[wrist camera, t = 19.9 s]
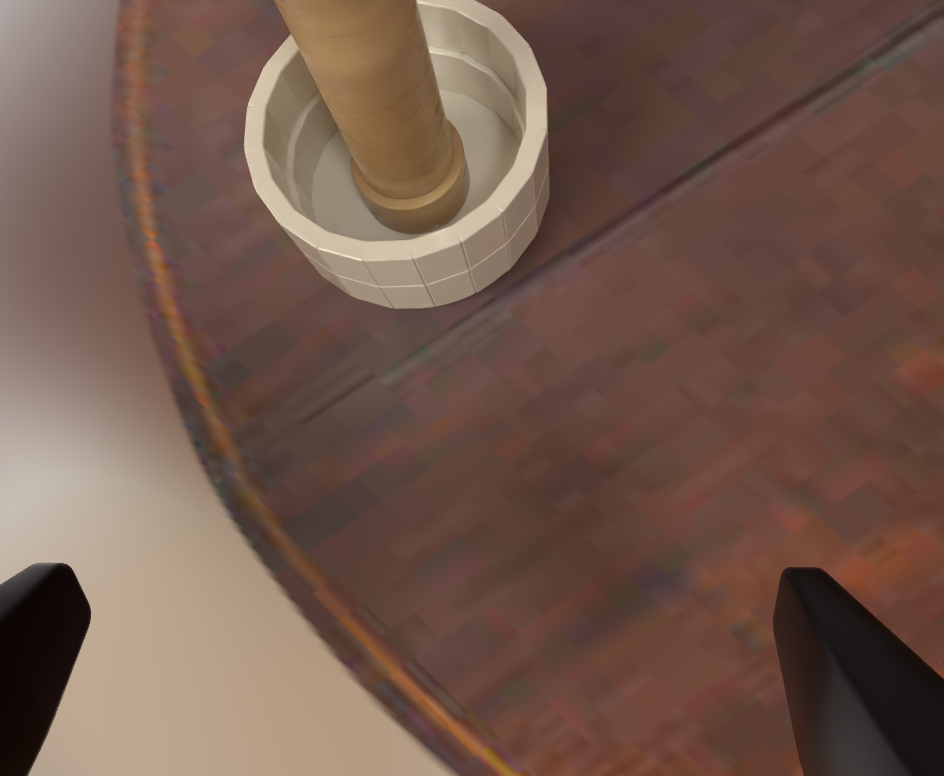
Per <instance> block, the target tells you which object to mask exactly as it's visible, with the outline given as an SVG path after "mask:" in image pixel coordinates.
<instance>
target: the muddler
mask: <svg viewBox="0 0 944 776" xmlns="http://www.w3.org/2000/svg"><path fill="white" fill-rule="evenodd" d="M274 1H275V3H276V5H277V7H278V9H279V11H280V13H281V15H282V17H283V19H284V21H285V23H286V25H287V27H288V29H289V31H290V33H291V35H292V37H293V39H294V41H295V43H296V45H297V47H298V49H299V51H300V53H301V55H302V57H303V59H304V61H305V63H306V65H307V67H308V69H309V70H310V72H311V74H312V76H313V78H314V80H315V82H316V84H317V86H318V88H319V90H320V92H321V94H322V96H323V98H324V100H325V102H326V104H327V106H328V108H329V110H330V112H331V114H332V116H333V118H334V120H335V122H336V124H337V126H338V128H339V130H340V132H341V134H342V136H343V138H344V140H345V142H346V144H347V146H348V148H349V150H350V152H351V154H352V155H351V172H352V176H353V179H354V181H355V184H356V186H357V187H358V189H359V191H360V193H361V195H362V197H363V199H364V201H365V203H366V205H367V206H368V208H369V210H370V212H371V213H372V215H373V216H374V217H375V218H376V219H377V220H378V221H379V222H380V223H381V224H382V225H384V226H385V227H387V228H389V229H391V230H393V231H396V232H400V233H405V234H421V233H427V232H430V231H433V230H436V229H438V228H440V227H442V226H444V225H445V224H447V223H448V222H449V221H451V220H452V219H453V218H454V217H455V216H456V215H457V214H458V212H459V211H460V210H461V208H462V207H463V205H464V204H465V201H466V199H467V196H468V193H469V188H470V174H469V169H468V165H467V160H466V156H465V152H464V147H463V143H462V140H461V137H460V135H459V133H458V131H457V130H456V128H455V126H454V125H453V124H452V123H451V122H450V121H449V120H448V119H447V118H446V115H445V111H444V107H443V103H442V99H441V95H440V91H439V87H438V83H437V80H436V76H435V72H434V68H433V64H432V60H431V56H430V52H429V48H428V44H427V40H426V36H425V32H424V28H423V24H422V20H421V16H420V12H419V8H418V4H417V0H274Z"/></svg>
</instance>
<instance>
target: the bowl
mask: <svg viewBox="0 0 944 776" xmlns="http://www.w3.org/2000/svg"><path fill="white" fill-rule="evenodd" d="M417 4H418V8H419V12H420V16H421V20H422V24H423V28H424V32H425V36H426V40H427V44H428V48H429V52H430V56H431V60H432V64H433V68H434V72H435V76H436V80H437V83H438V87H439V91H440V95H441V99H442V103H443V107H444V111H445V115H446V118H447V119H448V120H449V121H450V122H451V123H452V124H453V125H454V126H455V128H456V130H457V131H458V133H459V135H460V137H461V140H462V143H463V147H464V152H465V156H466V160H467V165H468V169H469V174H470V188H469V193H468V196H467V199H466V201H465V204H464V205H463V207H462V208H461V210H460V211H459V212H458V214H457V215H456V216H455V217H454V218H453V219H452V220H451V221H449V222H448V223H447V224H445V225H444V226H442V227H440V228H438V229H436V230H433V231H430V232H427V233H421V234H405V233H400V232H396V231H393V230H391V229H389V228H387V227H385V226H384V225H382V224H381V223H380V222H379V221H378V220H377V219H376V218H375V217H374V216H373V215H372V213H371V212H370V210H369V208H368V206H367V205H366V203H365V201H364V199H363V197H362V195H361V193H360V191H359V189H358V187H357V186H356V184H355V181H354V179H353V176H352V172H351V155H352V154H351V152H350V150H349V148H348V146H347V144H346V142H345V140H344V138H343V136H342V134H341V132H340V130H339V128H338V126H337V124H336V122H335V120H334V118H333V116H332V114H331V112H330V110H329V108H328V106H327V104H326V102H325V100H324V98H323V96H322V94H321V92H320V90H319V88H318V86H317V84H316V82H315V80H314V78H313V76H312V74H311V72H310V70H309V69H308V67H307V65H306V63H305V61H304V59H303V57H302V55H301V53H300V51H299V49H298V47H297V45H296V43H295V41H294V39H293V37H292V35H291V34H290V36H289V37H288V38H287V39H286V40H285V42H284V43H283V44H282V45H281V46H280V48H279V49H278V50H277V51H276V52H275V54H274V55H273V56H272V57H271V58H270V60H269V61H268V62H267V63H266V66H264V68H263V70H262V72H261V75H260V77H259V79H258V82H257V84H256V86H255V89H254V91H253V93H252V96H251V98H250V100H249V103H248V107H247V117H246V128H245V140H244V148H245V149H244V151H245V155H246V159H247V162H248V166H249V170H250V174H251V177H252V181H253V185H254V188H255V190H256V192H257V193H258V195H259V196H260V198H261V199H262V200H263V202H264V203H265V205H266V206H267V207H268V209H269V210H270V211H271V213H272V214H273V216H274V217H275V218H276V220H277V221H278V223H279V224H280V225H281V226H282V228H283V229H284V230H285V231H286V233H287V234H288V235H289V236H290V238H291V239H292V240H293V241H294V242H295V244H296V245H297V246H298V247H299V249H300V250H301V251H302V252H303V254H304V255H305V256H306V257H307V259H308V260H309V261H310V262H311V264H312V265H313V266H314V267H315V268H316V270H317V271H318V272H319V273H320V274H321V275H322V276H323V277H324V278H326V279H327V280H329V281H330V282H331V283H333V284H334V285H336V286H337V287H339V288H340V289H342V290H343V291H345V292H346V293H347V294H349V295H350V296H354V298H357V299H360V300H364V301H368V302H371V303H375V304H378V305H382V306H385V307H389V308H395V309H397V308H428V307H436V306H441V305H445V304H449V303H453V302H456V301H458V300H461V299H464V298H466V297H469V296H471V295H473V294H475V293H476V292H477V293H478V292H479V291H481V290H482V289H484V288H485V287H487V286H488V285H490V284H491V283H493V282H494V281H495V280H497V279H498V278H499V277H500V276H501V275H503V274H504V273H506V272H507V271H508V270H510V269H511V267H512V266H514V264H515V263H516V262H517V260H518V259H519V258H520V256H521V255H522V254H523V252H524V251H525V249H526V248H527V247H528V245H529V244H530V243H531V241H532V240H533V239H534V237H535V236H536V233H537V232H538V230H539V227H540V224H541V221H542V218H543V215H544V212H545V209H546V206H547V203H548V200H549V194H550V182H549V142H548V107H547V87H546V83H545V81H544V78H543V76H542V73H541V71H540V68H539V66H538V63H537V61H536V58H535V56H534V53H533V51H532V49H531V48H530V45H529V44H528V43H527V42H526V41H525V40H524V39H523V38H522V36H521V35H520V34H519V33H518V32H517V31H516V30H515V29H514V28H513V27H512V26H511V24H510V23H509V22H508V21H507V20H506V19H505V18H504V17H503V16H501V15H500V14H499V13H497V12H495V11H493V10H492V9H490V8H488V7H486V6H484V5H482V4H481V3H479V2H477V1H475V0H417Z"/></svg>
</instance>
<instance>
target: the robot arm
mask: <svg viewBox="0 0 944 776" xmlns="http://www.w3.org/2000/svg"><path fill="white" fill-rule="evenodd" d="M90 619H91V609H90V605H89V603H88V601H87V599H86V596H85V594H84V592H83V590H82V588H81V586H80V584H79V582H78V580H77V578H76V575H75V573H74V571H73V570H72V568H71V567H70V566H68V565H67V564H64V563H37V564H33V565H31V566H29V567H28V568H26V569H24V570H23V571H21V572H20V573H18V574H16V575H15V576H13V577H12V578H10V579H9V580H7V581H5V582H4V583H2V584H1V585H0V776H28V774H29V772H30V770H31V768H32V766H33V764H34V762H35V760H36V758H37V756H38V754H39V752H40V750H41V748H42V745H43V743H44V741H45V739H46V737H47V734H48V732H49V729H50V727H51V724H52V722H53V720H54V717H55V715H56V712H57V710H58V707H59V704H60V702H61V699H62V696H63V694H64V691H65V688H66V686H67V683H68V680H69V678H70V675H71V673H72V670H73V667H74V665H75V662H76V659H77V657H78V654H79V651H80V649H81V646H82V643H83V641H84V638H85V636H86V633H87V630H88V628H89V624H90ZM773 628H774V636H775V641H776V646H777V651H778V656H779V661H780V666H781V671H782V676H783V681H784V686H785V691H786V696H787V701H788V706H789V711H790V716H791V721H792V726H793V731H794V736H795V741H796V745H797V750H798V755H799V759H800V763H801V766H802V770H803V773H804V776H944V679H943V678H942V677H941V676H940V675H939V674H938V673H936V672H935V671H934V670H933V669H932V668H931V667H930V666H929V665H928V664H927V663H925V662H924V661H923V660H922V659H921V658H920V657H919V656H918V655H917V654H916V653H914V652H913V651H912V650H911V649H910V648H909V647H908V646H907V645H906V644H905V643H903V642H902V641H901V640H900V639H899V638H898V637H897V636H896V635H895V634H894V633H892V632H891V631H890V630H889V629H888V628H887V627H886V626H885V625H884V624H883V623H881V622H880V621H879V620H878V619H877V618H876V617H875V616H874V615H873V614H872V613H870V612H869V611H868V610H867V609H866V608H865V607H864V606H863V605H862V604H861V603H859V602H858V601H857V600H856V599H855V598H854V597H853V596H852V595H851V594H850V593H848V592H847V591H846V590H845V589H844V588H843V587H842V586H841V585H840V584H839V583H837V582H836V581H835V580H834V579H833V578H832V577H831V576H830V575H829V574H828V573H826V572H825V571H824V570H822V569H820V568H816V567H789V568H786V569H784V571H783V572H782V574H781V578H780V583H779V589H778V594H777V599H776V605H775V610H774V616H773Z"/></svg>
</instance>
